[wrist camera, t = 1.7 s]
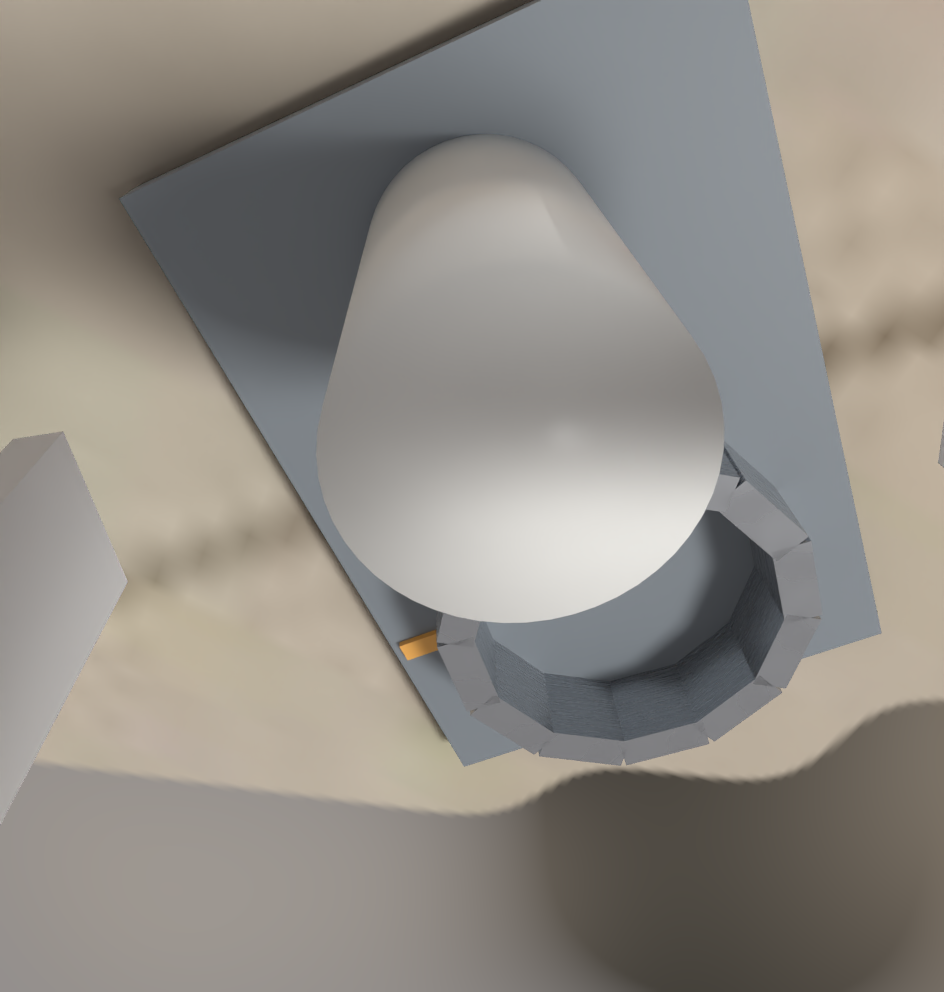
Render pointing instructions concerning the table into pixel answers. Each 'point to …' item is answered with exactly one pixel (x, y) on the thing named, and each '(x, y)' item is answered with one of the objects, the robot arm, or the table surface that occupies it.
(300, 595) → the table surface
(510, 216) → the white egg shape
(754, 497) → the duct collar
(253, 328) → the board
